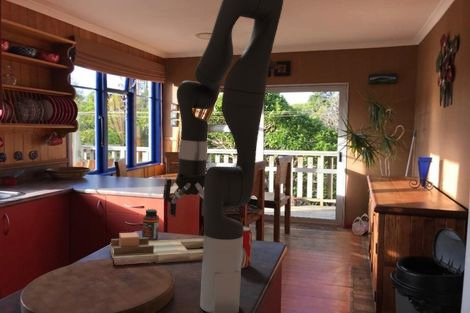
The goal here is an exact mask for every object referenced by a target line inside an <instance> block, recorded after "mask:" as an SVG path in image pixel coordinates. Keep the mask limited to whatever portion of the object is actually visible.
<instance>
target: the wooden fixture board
mask: <svg viewBox="0 0 470 313" xmlns="http://www.w3.org/2000/svg"><path fill="white" fill-rule="evenodd" d="M203 242H204V237H202V238H182V239H164V240H157V241H149V238H142V237H139V246H126V247H119V238H111V240H110V243H109V251H110V254H111V259H112V258H113V259H127V260H145V261H151V262H156V263H155V264H159V263H174V262H175V263H176V262H188V261H190V262H191V261H202V260H203V248H200V247H203ZM113 259H112V260H113Z"/></svg>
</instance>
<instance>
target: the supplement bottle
mask: <svg viewBox="0 0 470 313" xmlns="http://www.w3.org/2000/svg"><path fill="white" fill-rule="evenodd" d="M159 226H160V217H159V215H158V210H157V209H155V208H154V209H153V208H149V209H146V210H145V215H143V217H142V227H141V228H142V229H141V238H149V241H158V239H159V228H160V227H159Z"/></svg>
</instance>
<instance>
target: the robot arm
mask: <svg viewBox="0 0 470 313" xmlns="http://www.w3.org/2000/svg"><path fill="white" fill-rule="evenodd" d="M283 5H284V0H221V3H220V6H219V9H218V12H217V15H216V19H215V22H214V25H213V29H212V30H211V36H210V38H209V41H208V43H207V46H206V48H205V50H204V51H203V54H202V55H201V57H200V59H199V62H198V63H197V66H196V67H195V70H194V76H195V80H196V81H193V80H183V81H182V82H180V83H179V85H178V87H177V90H176V99H177V100H176V101H177V105H178V110H179V116H180V121H181V128H180V129H181V130H180V142H179V147H178V161H177V162H178V163H177V175H176V178H170V177H169V176H167V177H165V179H164V186H163V195H162V198H163V199H164V201H165V202H168V203H169V205H168V206H169V207H168V209H169V210H168V213H169V214H170V215H171V217H172V218H175V217H176V212H177V201H178V200H179V199H180V198H182V196H183V195H184V196H189V195H194V196H197V195H199V196H200V197H201V199H202V200H203V201H202V202H201V216H202V217H203V238H204V242H203V248H202V249H203V260H201V277H200V279H201V280H200V281H201V282H200V300H199V302H200V304H199V306H200V308H201V310H203V311H205V312H206V313H239V311H240V310H239V309H240V297H241V296H240V294H241V277H242V274H241V272H242V268H241V261H242V245H243V226H244V225H243V223H242V222H241V221H239V220H236V219H234V218H231V217H228V216H226V215H225V214H224V210H223V207H239V206H240V207H242V206H246V205H248V204H249V202H250V201H251V199H252V195H253V191H254V185H255V184H254V183H255V172H256V156H257V145H258V138H259V131H260V126H261V118H262V113H263V108H264V102H265V96H266V91H267V90H266V89H267V80H268V74H269V69H270V68H269V67H270V62H271V57H272V53H273V48H274V42H275V40H276V35H277V31H278V28H279V27H278V26H279V23H280V18H281V15H282V10H283ZM240 17H242V18H247V19H252V20H254V21H253V28H252V30H251V34H250V38H249V42H248V44H247V46H246V48H245V49H244V51H243V52H242V54H241V55H240V56H239V57H238V59H237V60H236V62H235V63H234V65H232V67H231V64H232V63H233V59H234V58H233V57H234V45H233V43H234V42H233V30H234V27H235V25H236V22H237V21H238V20H239V19H240ZM230 67H231V68H230ZM229 69H230V70H229ZM228 70H229V71H228ZM227 72H228V73H227ZM226 74H227V75H226ZM225 75H226V77H225ZM224 77H225V80H224V85H223V92H222V100H221V113H222V116H223V119H224V121H225V124H226V126H227V128H228V130H229V132H230V134H231V137H232V138H233V141H234V145H235V148H236V162H235V163H236V164H235V166H210V167H209V168H208V169H207V160H208V134H209V133H208V132H209V122H208V121H207V119H204V118H202V117H198V116H196V115H195V112H194V109H199V110H209V109H212V108H213V107H214V106H215V105H216V103H217V101H218V96H219V91H220V87H221V83H222V80H223V79H224ZM174 185H176V186H177V188H176V189H175V190H174V192H173V194H172V195H171V188H172V187H173V186H174Z"/></svg>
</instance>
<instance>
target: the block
mask: <svg viewBox="0 0 470 313" xmlns="http://www.w3.org/2000/svg"><path fill="white" fill-rule="evenodd" d="M118 234H119V237H118V239H119V247H126V246H139V238H140V236H139V233H138V232H119V233H118Z"/></svg>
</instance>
